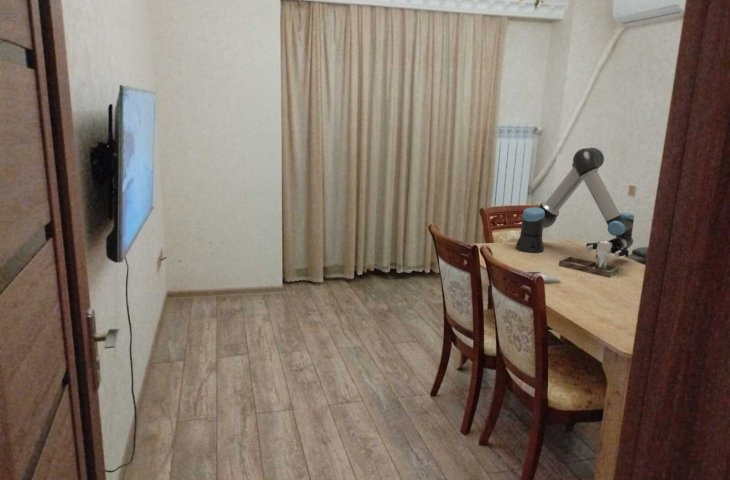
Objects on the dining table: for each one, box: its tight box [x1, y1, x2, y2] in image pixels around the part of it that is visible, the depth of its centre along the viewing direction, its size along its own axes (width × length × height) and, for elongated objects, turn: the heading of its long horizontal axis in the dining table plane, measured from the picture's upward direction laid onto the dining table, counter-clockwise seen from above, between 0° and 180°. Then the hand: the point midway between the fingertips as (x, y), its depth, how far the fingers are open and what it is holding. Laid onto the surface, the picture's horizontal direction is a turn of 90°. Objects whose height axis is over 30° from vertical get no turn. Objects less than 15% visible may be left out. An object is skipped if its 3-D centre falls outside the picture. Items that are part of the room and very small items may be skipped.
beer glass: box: [594, 240, 612, 271], centre depth 253 cm, size 7×7×15 cm
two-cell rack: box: [558, 256, 620, 278], centre depth 258 cm, size 25×13×2 cm, turn 46°
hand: (601, 252), depth 249 cm, fingers open, 13 cm apart
